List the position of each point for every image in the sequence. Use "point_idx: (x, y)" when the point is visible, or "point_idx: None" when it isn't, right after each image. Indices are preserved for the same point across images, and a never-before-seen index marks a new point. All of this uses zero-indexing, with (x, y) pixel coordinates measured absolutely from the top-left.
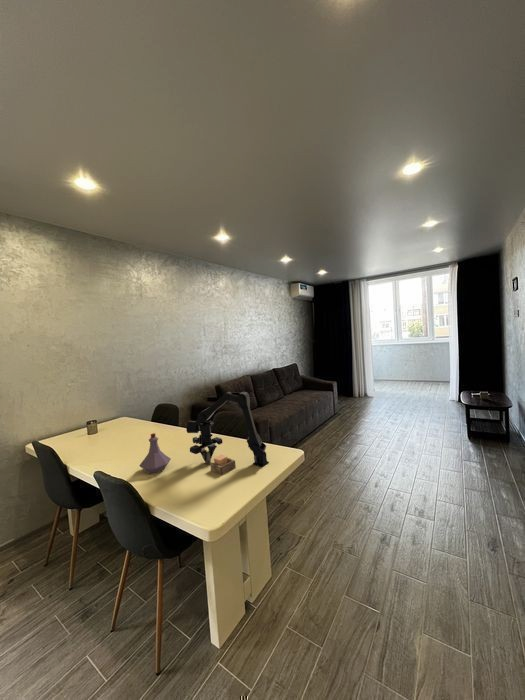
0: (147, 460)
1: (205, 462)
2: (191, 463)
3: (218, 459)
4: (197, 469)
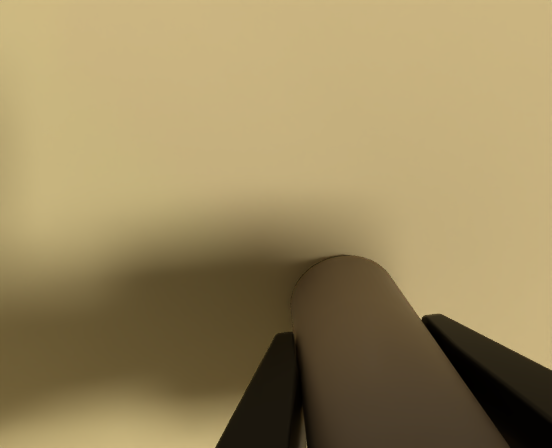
0: None
1: (292, 313)
2: (43, 19)
3: None
4: (81, 379)
